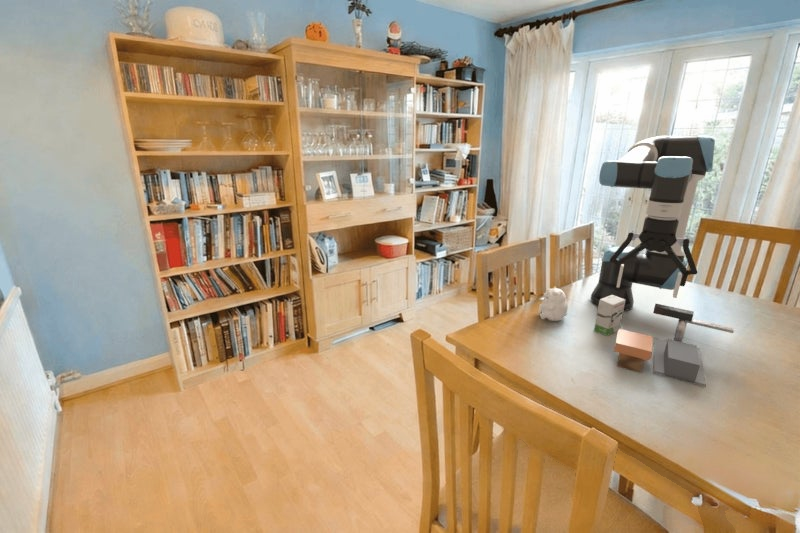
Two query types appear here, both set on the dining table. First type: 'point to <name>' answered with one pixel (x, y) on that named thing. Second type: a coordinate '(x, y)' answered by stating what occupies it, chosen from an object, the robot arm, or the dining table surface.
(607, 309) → the ink box
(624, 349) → the cover
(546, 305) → the figurine
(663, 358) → the block
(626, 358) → the brown wooden block
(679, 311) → the grey t-shaped piece
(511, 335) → the dining table surface
